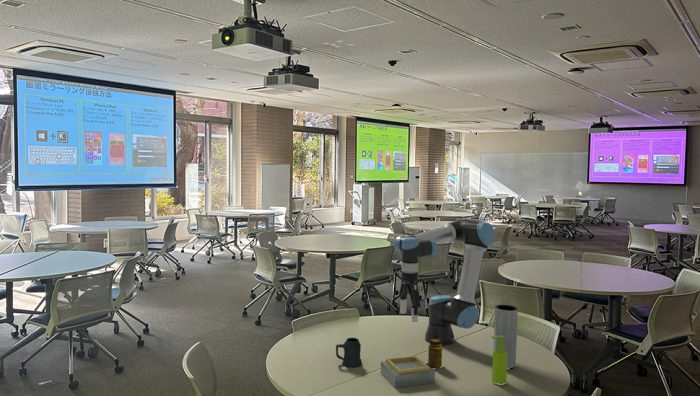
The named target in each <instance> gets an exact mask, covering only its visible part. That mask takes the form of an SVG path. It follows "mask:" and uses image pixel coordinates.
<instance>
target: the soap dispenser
mask: <svg viewBox="0 0 700 396" xmlns="http://www.w3.org/2000/svg"><path fill="white" fill-rule="evenodd" d="M490 338H491V339H492V340H494V339H495V338H499V341H498V343H496V350H494V351H493V350H492V364H491V365H492V367H491V369H492V370H491V382H492V381H493V382H495V383H499V384H503V383H506V384H507V378H508V377H507V375H508V369H507V352H506V351H504V349H505V344H503V339H505V337H504V336H499V335H496V336H494V335H491V336H490Z"/></svg>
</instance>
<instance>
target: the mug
mask: <svg viewBox="0 0 700 396" xmlns="http://www.w3.org/2000/svg"><path fill="white" fill-rule="evenodd" d="M361 346H362V345H361V343H360V340H359V338H356V337H347V338H346V340H345V341H344V343H343V344H342V343H341V344H336V345H335V356H336V357H337V359H339V360H342V363H341V364H342V366H344V367H346V368H359V367H361V366H362V365H363V363H362V362H363V361H362V359H361V349H362V347H361ZM339 348H343V357H342V356H341V355H340V354H339Z"/></svg>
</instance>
